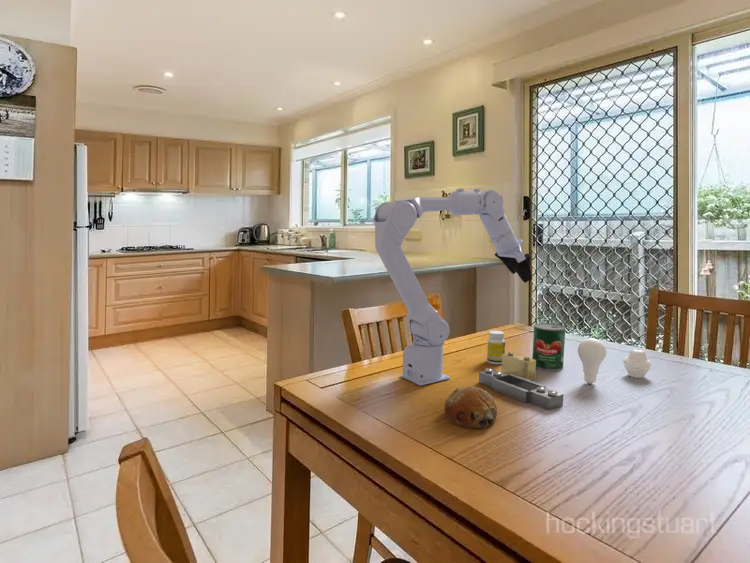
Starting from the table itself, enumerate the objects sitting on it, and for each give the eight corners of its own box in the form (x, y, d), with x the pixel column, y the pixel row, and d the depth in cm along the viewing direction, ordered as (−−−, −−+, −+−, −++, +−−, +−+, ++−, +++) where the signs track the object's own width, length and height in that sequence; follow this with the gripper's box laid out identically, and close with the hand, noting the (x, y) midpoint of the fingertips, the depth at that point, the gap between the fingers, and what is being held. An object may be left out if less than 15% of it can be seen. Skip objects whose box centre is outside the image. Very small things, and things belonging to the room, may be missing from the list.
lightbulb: (588, 389, 106) (591, 342, 104) (570, 380, 111) (572, 336, 110) (610, 386, 107) (613, 341, 106) (591, 378, 113) (594, 334, 112)
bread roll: (490, 428, 93) (487, 388, 96) (506, 428, 84) (502, 383, 86) (442, 429, 93) (440, 388, 96) (452, 428, 83) (449, 383, 86)
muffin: (655, 378, 113) (658, 350, 113) (640, 381, 111) (642, 353, 110) (632, 371, 119) (634, 344, 118) (616, 374, 116) (618, 347, 115)
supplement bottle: (506, 364, 124) (507, 334, 122) (488, 364, 124) (489, 334, 123) (501, 359, 128) (503, 330, 127) (484, 359, 128) (485, 330, 127)
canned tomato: (538, 371, 119) (540, 329, 117) (527, 361, 126) (529, 322, 125) (568, 371, 119) (571, 329, 117) (556, 361, 126) (558, 322, 125)
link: (526, 382, 111) (528, 360, 110) (501, 373, 117) (502, 352, 117) (535, 379, 112) (536, 358, 111) (509, 371, 119) (510, 350, 118)
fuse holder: (545, 411, 93) (546, 396, 93) (475, 383, 109) (476, 370, 109) (565, 404, 97) (566, 390, 96) (495, 378, 113) (495, 366, 112)
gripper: (526, 230, 110) (548, 276, 114) (503, 219, 123) (523, 260, 128) (500, 245, 110) (523, 290, 115) (480, 233, 124) (501, 273, 128)
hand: (521, 276), depth 121 cm, fingers open, 7 cm apart
